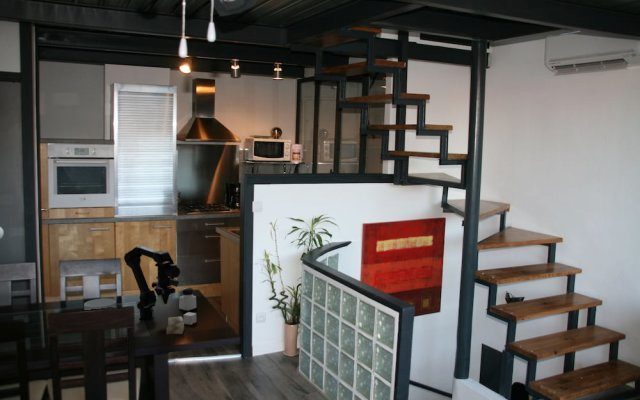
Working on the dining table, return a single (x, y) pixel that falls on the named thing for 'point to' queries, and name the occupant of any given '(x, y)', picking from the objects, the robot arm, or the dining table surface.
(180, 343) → the dining table surface
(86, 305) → the cereal bowl
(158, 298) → the sage cube
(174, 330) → the oak slab
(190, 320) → the grey cube
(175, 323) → the birch slab
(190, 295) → the medicine bottle
